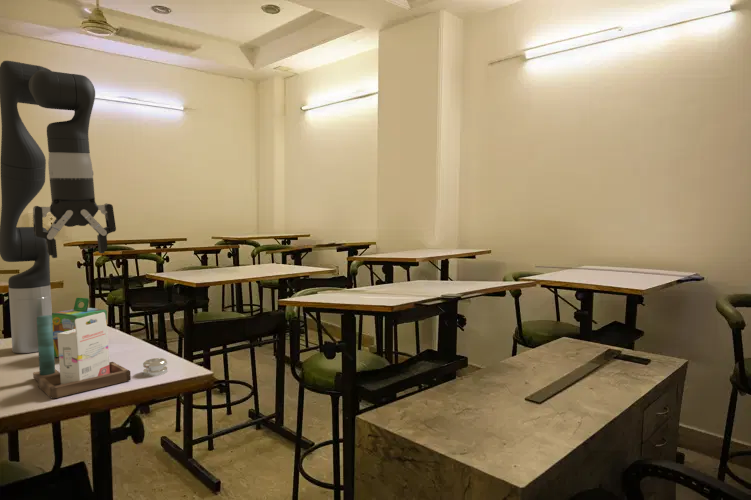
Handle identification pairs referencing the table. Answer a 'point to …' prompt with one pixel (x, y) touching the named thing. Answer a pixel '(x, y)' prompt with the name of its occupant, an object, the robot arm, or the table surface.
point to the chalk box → (72, 319)
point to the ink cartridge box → (84, 350)
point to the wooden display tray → (52, 377)
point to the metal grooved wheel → (155, 367)
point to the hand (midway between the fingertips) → (78, 255)
